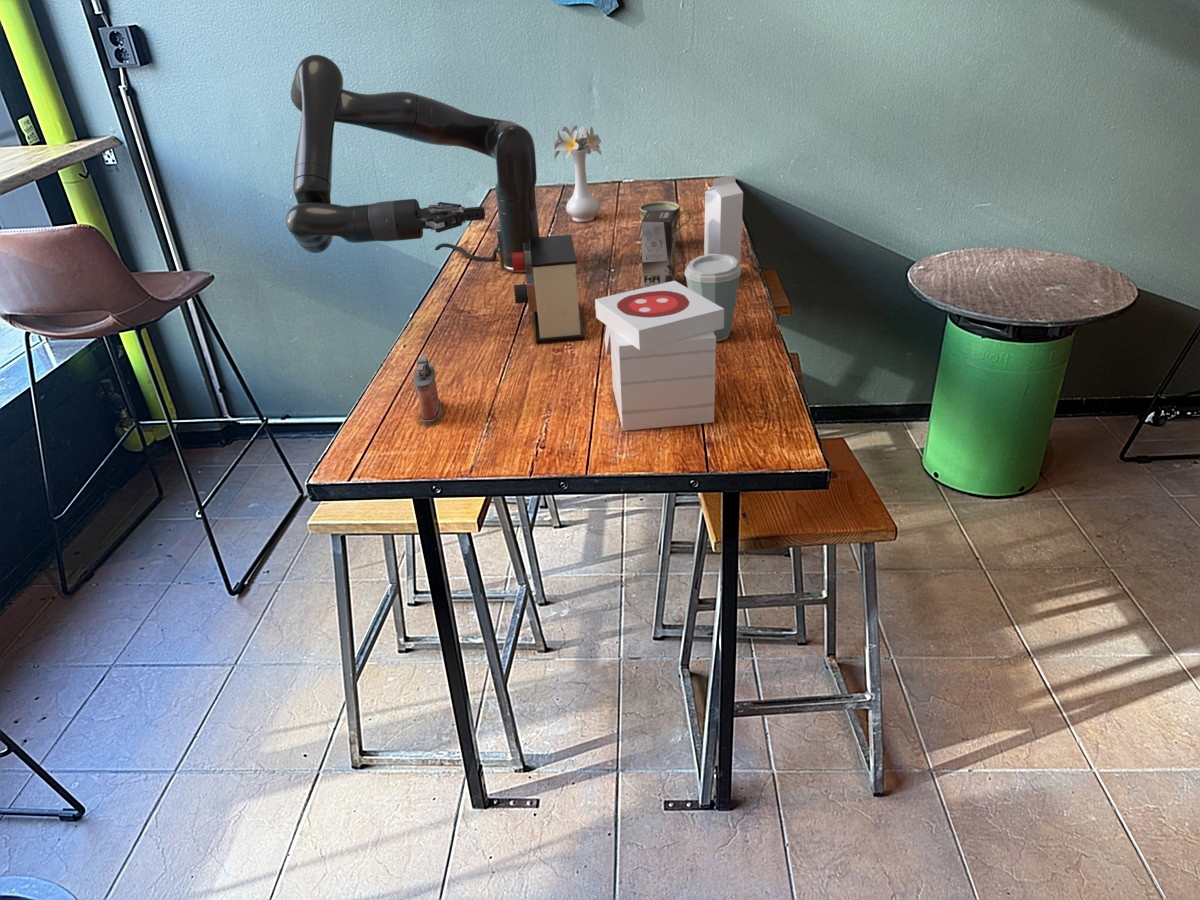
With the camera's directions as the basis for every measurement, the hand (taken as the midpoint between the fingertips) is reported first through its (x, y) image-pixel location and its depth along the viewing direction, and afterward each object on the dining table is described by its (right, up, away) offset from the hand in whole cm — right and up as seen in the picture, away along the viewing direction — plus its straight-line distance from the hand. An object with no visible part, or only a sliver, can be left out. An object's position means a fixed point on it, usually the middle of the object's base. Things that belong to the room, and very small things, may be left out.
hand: (484, 212), depth 161 cm
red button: (+6, -10, +7) cm, 13 cm away
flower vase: (+17, +19, +73) cm, 77 cm away
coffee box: (+36, -10, +24) cm, 44 cm away
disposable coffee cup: (+44, -24, 0) cm, 51 cm away
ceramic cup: (+39, +5, +48) cm, 62 cm away
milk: (+51, -6, +28) cm, 58 cm away
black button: (+7, -17, +1) cm, 19 cm away
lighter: (-6, -40, -21) cm, 46 cm away
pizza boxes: (+32, -36, -18) cm, 52 cm away
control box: (+14, -21, +9) cm, 26 cm away
